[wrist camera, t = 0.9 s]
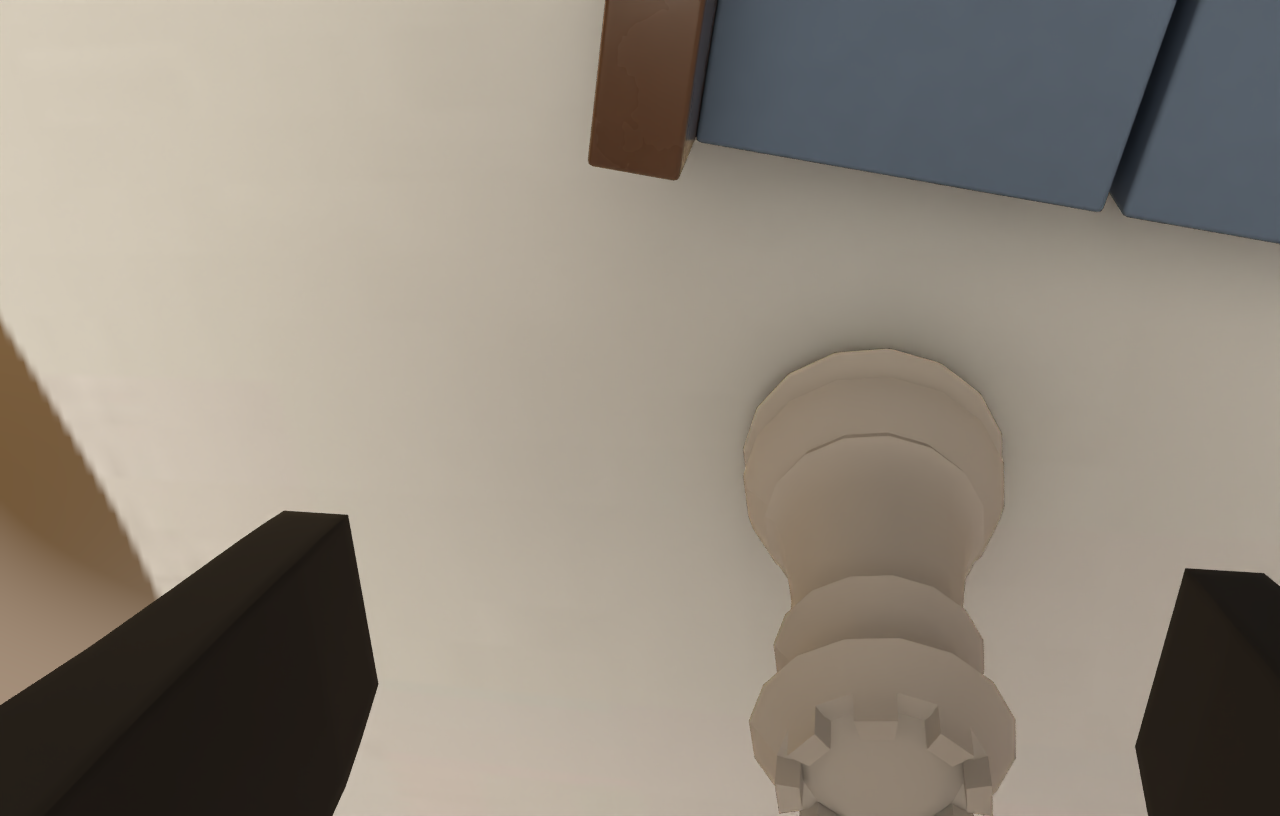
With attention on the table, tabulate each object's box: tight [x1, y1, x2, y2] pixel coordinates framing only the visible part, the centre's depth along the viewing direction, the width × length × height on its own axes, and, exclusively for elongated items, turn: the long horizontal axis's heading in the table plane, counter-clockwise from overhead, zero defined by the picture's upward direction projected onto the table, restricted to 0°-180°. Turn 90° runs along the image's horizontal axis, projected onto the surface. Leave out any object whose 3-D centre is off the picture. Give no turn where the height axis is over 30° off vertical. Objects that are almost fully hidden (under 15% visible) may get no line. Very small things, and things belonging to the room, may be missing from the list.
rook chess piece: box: [743, 349, 1016, 816], centre depth 17 cm, size 4×4×8 cm
